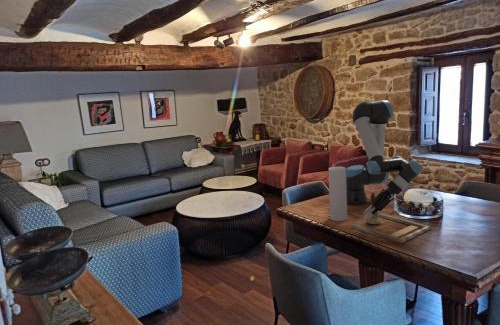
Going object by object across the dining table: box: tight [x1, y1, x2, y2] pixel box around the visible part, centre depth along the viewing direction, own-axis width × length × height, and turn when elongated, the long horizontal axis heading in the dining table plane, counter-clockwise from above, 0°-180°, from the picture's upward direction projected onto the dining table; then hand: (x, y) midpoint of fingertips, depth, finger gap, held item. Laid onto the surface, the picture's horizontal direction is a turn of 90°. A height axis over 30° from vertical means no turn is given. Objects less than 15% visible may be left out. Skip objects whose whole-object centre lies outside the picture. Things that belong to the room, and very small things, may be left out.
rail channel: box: [350, 212, 431, 244], centre depth 191 cm, size 24×30×2 cm
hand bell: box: [365, 192, 382, 225], centre depth 198 cm, size 8×8×16 cm
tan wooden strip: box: [390, 225, 419, 238], centre depth 184 cm, size 21×4×1 cm, turn 124°
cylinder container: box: [328, 166, 348, 222], centre depth 208 cm, size 9×9×30 cm
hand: (366, 215), depth 199 cm, fingers closed on hand bell, 4 cm apart
